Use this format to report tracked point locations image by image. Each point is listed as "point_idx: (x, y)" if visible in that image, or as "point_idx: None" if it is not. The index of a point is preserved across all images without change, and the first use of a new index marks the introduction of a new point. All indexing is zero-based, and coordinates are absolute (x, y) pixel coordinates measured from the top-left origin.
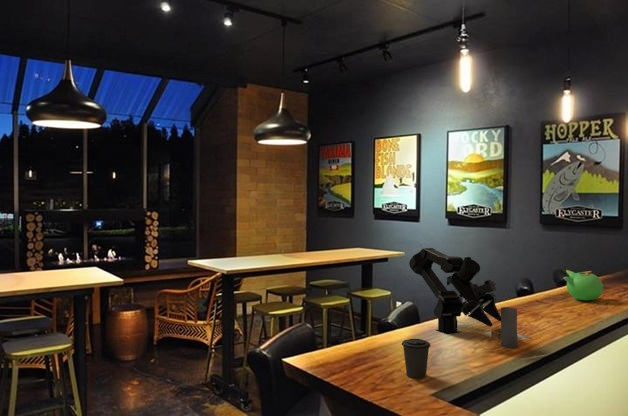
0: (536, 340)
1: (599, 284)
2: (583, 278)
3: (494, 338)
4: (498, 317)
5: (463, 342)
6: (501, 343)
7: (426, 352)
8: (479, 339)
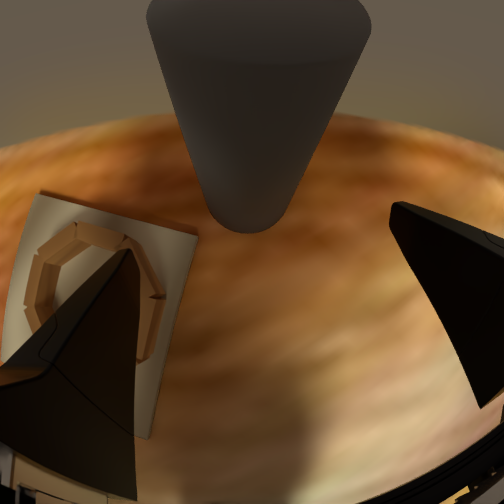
0: (46, 177)
1: None
2: None
3: (165, 327)
4: (128, 282)
5: (349, 408)
6: (280, 214)
7: None
8: (227, 392)
